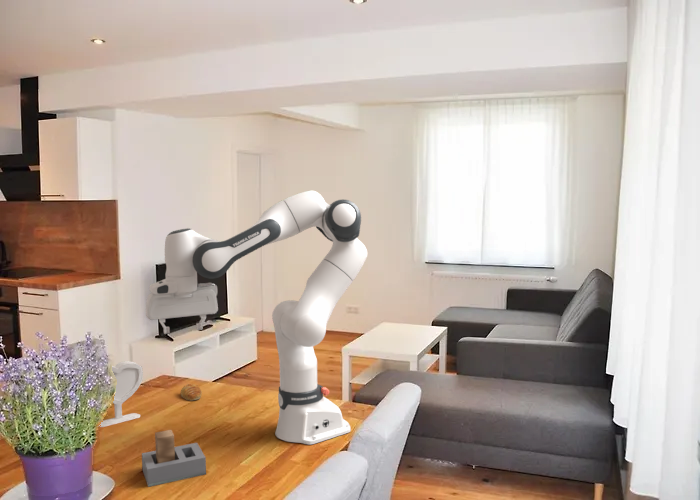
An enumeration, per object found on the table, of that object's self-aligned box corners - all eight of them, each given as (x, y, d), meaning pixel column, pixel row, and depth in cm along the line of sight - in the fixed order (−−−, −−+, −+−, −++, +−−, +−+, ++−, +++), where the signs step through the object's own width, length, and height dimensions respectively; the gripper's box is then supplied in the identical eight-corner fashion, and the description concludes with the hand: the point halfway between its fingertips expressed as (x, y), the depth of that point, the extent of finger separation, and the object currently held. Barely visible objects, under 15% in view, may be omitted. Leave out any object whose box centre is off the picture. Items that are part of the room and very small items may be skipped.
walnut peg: (172, 466, 156) (171, 429, 155) (175, 473, 152) (174, 435, 151) (156, 470, 154) (155, 432, 153) (159, 476, 150) (157, 438, 149)
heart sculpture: (95, 428, 182) (92, 371, 180) (90, 423, 186) (87, 367, 184) (145, 415, 192) (143, 361, 190) (139, 411, 196) (137, 358, 194)
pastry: (205, 399, 207) (205, 389, 207) (186, 403, 204) (185, 392, 203) (197, 392, 215) (197, 381, 215) (179, 395, 212) (178, 385, 211)
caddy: (197, 458, 162) (196, 442, 161) (206, 474, 153) (205, 457, 152) (142, 469, 155) (141, 453, 155) (148, 486, 146) (147, 469, 146)
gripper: (214, 280, 181) (215, 325, 182) (143, 285, 172) (145, 333, 173) (219, 283, 175) (221, 329, 177) (147, 289, 166) (149, 337, 167)
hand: (183, 331), depth 175 cm, fingers open, 8 cm apart
